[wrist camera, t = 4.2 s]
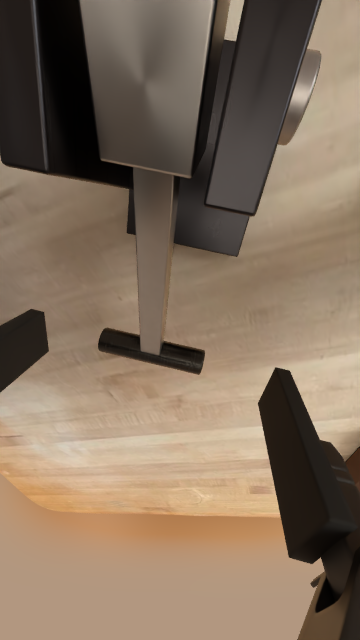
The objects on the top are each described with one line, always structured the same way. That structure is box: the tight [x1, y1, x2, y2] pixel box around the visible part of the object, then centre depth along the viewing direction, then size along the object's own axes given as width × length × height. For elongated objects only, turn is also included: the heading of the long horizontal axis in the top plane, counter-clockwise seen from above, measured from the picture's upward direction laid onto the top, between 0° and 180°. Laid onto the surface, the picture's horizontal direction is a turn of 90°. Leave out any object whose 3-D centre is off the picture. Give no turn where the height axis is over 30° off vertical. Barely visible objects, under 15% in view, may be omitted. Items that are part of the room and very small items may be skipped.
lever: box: [78, 0, 230, 375], centre depth 9 cm, size 13×6×2 cm, turn 170°
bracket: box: [0, 0, 322, 257], centre depth 9 cm, size 10×8×13 cm
